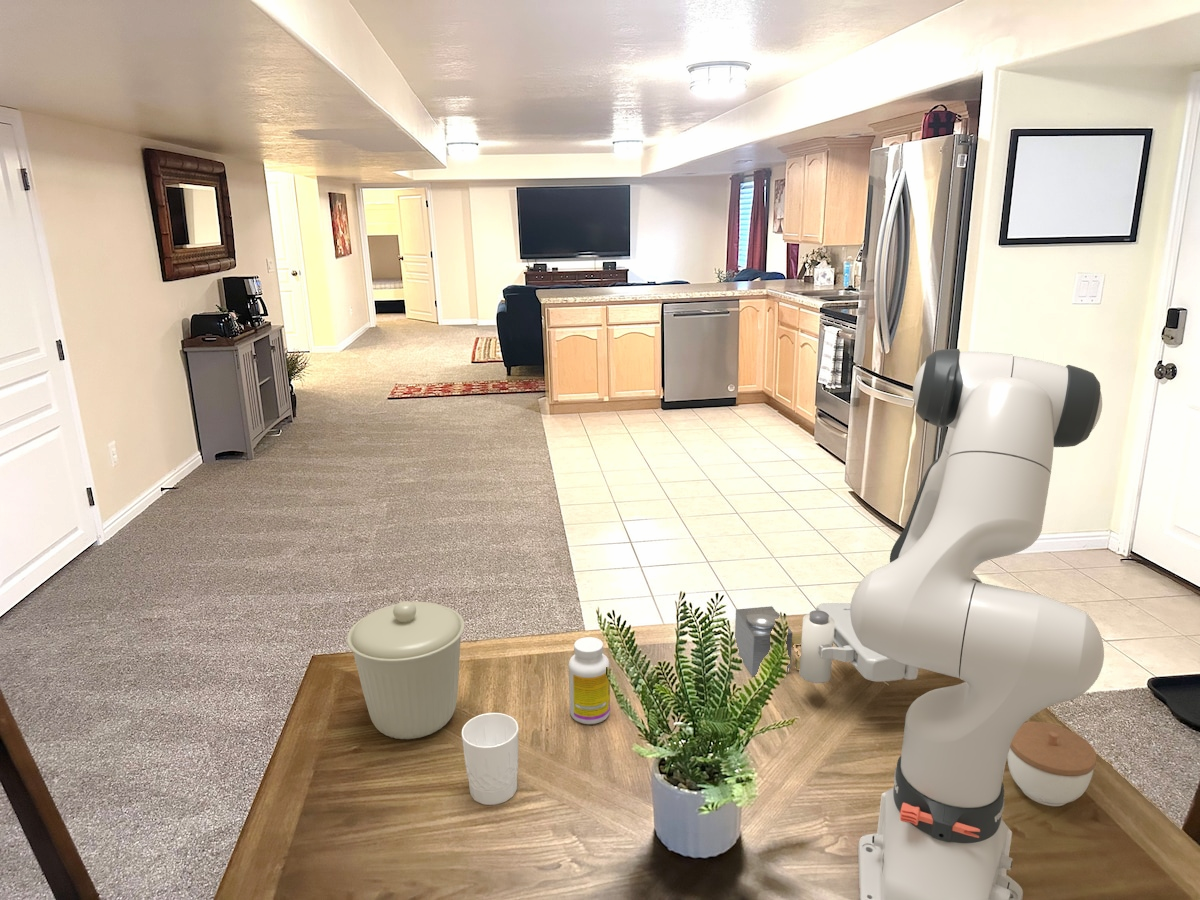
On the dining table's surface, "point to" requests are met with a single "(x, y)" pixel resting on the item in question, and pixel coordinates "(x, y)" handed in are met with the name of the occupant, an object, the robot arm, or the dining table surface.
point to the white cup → (491, 757)
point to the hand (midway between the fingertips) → (812, 642)
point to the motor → (759, 636)
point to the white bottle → (816, 646)
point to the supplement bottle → (589, 682)
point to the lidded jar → (1050, 763)
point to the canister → (408, 666)
